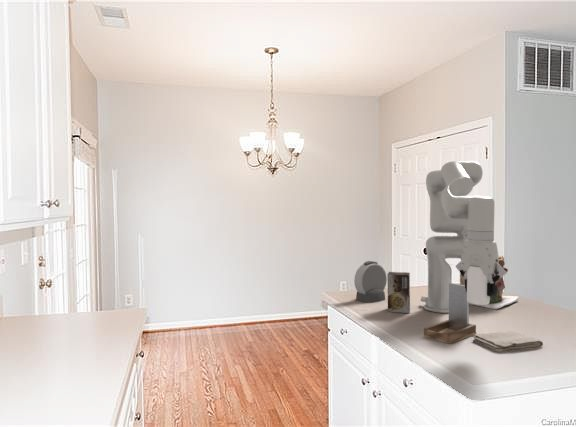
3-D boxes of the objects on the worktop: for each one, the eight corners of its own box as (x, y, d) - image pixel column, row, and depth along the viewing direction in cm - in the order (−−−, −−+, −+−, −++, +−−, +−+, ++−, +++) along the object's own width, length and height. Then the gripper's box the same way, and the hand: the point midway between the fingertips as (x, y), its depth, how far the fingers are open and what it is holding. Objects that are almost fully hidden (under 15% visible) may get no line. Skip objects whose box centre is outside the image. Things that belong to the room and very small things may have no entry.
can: (492, 306, 126) (492, 267, 125) (469, 305, 127) (470, 266, 127) (486, 300, 132) (486, 263, 132) (464, 299, 134) (465, 263, 133)
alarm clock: (376, 295, 205) (376, 258, 205) (390, 299, 196) (391, 261, 196) (350, 299, 197) (350, 261, 196) (364, 303, 188) (364, 263, 188)
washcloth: (470, 342, 137) (470, 332, 137) (513, 336, 143) (513, 328, 143) (498, 354, 126) (498, 344, 126) (543, 348, 131) (543, 338, 131)
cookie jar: (444, 300, 194) (444, 232, 193) (467, 292, 210) (468, 230, 210) (499, 310, 176) (500, 235, 175) (520, 301, 192) (521, 232, 191)
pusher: (448, 327, 149) (448, 283, 149) (450, 327, 150) (450, 283, 149) (466, 332, 144) (467, 286, 143) (468, 331, 144) (468, 286, 144)
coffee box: (410, 309, 177) (410, 272, 177) (409, 313, 171) (409, 274, 171) (388, 308, 180) (388, 271, 180) (387, 311, 174) (387, 273, 174)
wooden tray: (423, 336, 142) (423, 327, 142) (449, 326, 153) (449, 318, 152) (450, 344, 134) (450, 335, 134) (476, 333, 145) (476, 325, 145)
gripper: (448, 235, 133) (447, 290, 134) (503, 239, 120) (502, 300, 121) (460, 233, 138) (459, 287, 139) (514, 237, 125) (513, 296, 125)
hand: (479, 292), depth 130 cm, fingers closed on can, 6 cm apart
